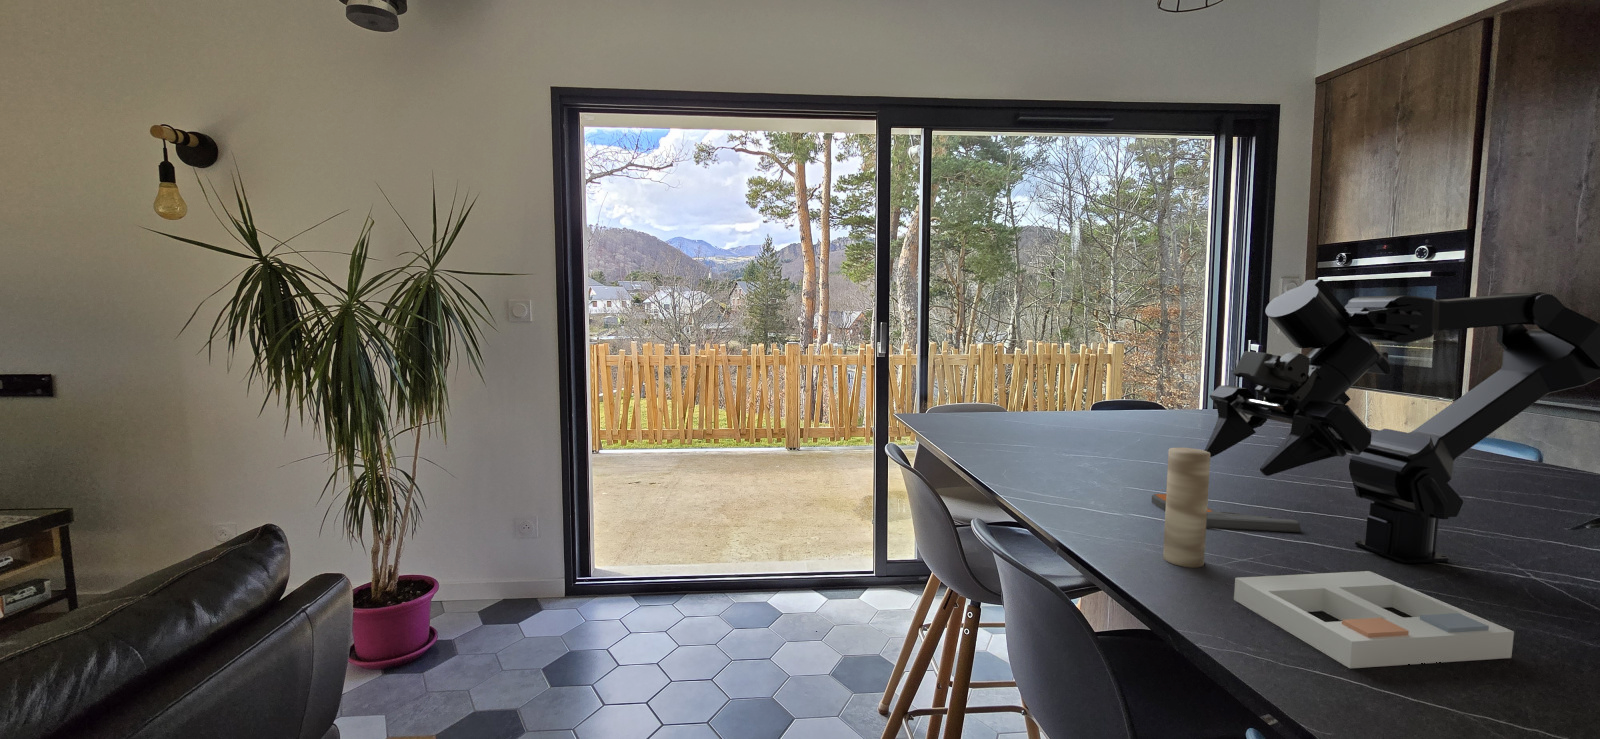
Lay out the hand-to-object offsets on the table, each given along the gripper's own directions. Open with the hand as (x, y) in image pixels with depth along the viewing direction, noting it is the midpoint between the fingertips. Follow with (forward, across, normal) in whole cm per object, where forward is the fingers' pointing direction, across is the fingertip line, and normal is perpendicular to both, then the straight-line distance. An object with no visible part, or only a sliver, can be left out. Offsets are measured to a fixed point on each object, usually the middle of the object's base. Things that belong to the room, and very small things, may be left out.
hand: (1233, 463), depth 77 cm
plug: (+13, 0, +5) cm, 14 cm away
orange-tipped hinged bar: (+2, -16, +17) cm, 23 cm away
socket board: (+8, +17, +9) cm, 21 cm away
